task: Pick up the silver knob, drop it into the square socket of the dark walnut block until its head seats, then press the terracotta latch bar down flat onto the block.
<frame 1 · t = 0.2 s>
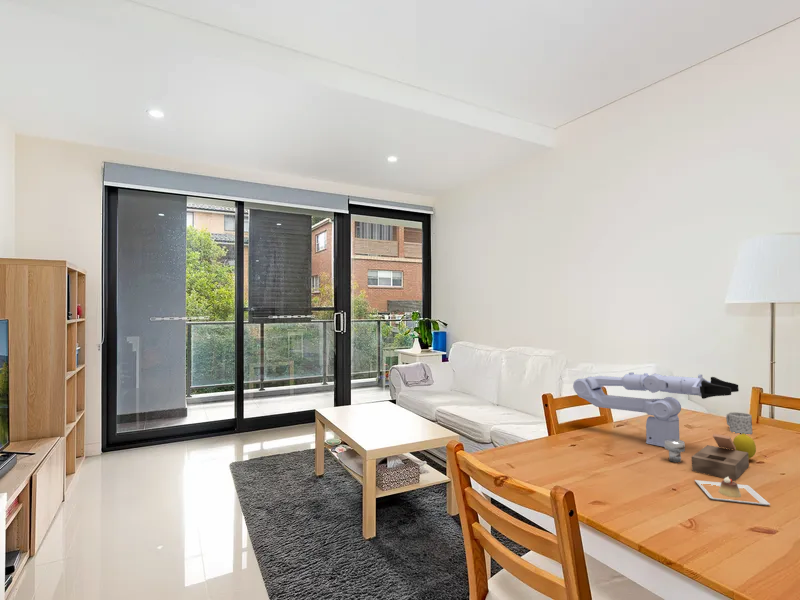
hand: (734, 389, 133), 21 cm above the table, tool horizontal, fingers open, 7 cm apart
lemon: (744, 460, 131), on the table
silver knob: (675, 460, 131), on the table
socket block: (720, 468, 125), on the table
latch bar: (724, 441, 128), point 7 cm above the table, hinge at 35.0°
mug: (737, 431, 163), on the table
dessert: (729, 496, 108), on the table
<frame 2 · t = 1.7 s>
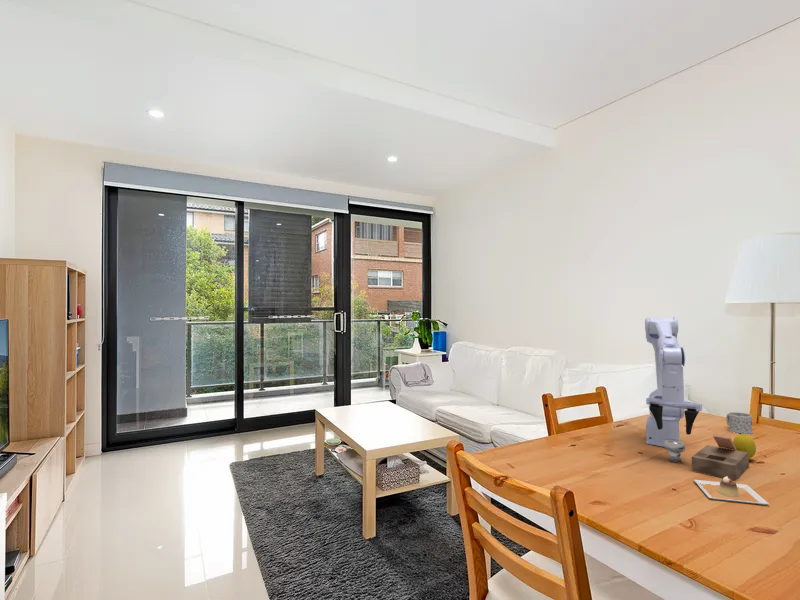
hand: (674, 431, 132), 9 cm above the table, tool pointing down, fingers open, 7 cm apart
nothing on the table moved.
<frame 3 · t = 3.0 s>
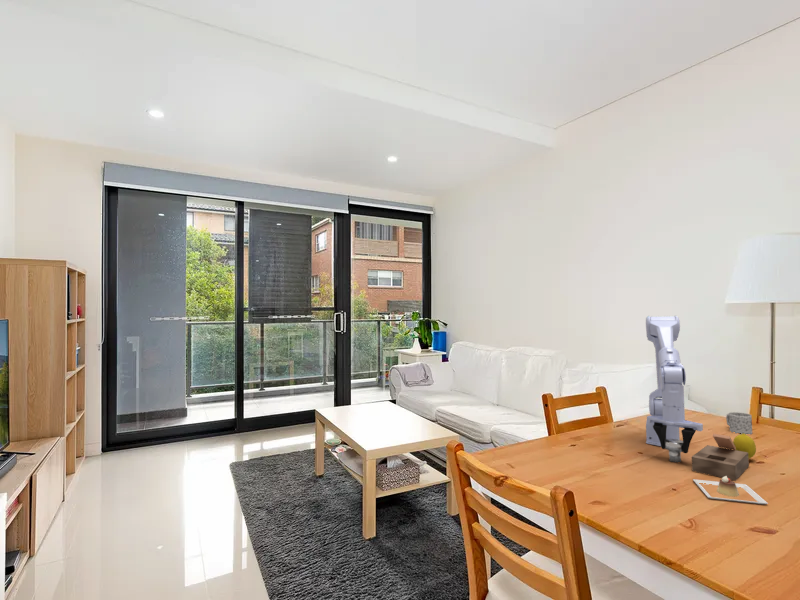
hand: (674, 450, 132), 3 cm above the table, tool pointing down, fingers closed on silver knob, 5 cm apart
silver knob: (675, 460, 131), on the table, touching gripper
everything else where it was.
when the fingers open (6 cm above the table, at t = 6.7 s): silver knob drops 2 cm, resting on socket block.
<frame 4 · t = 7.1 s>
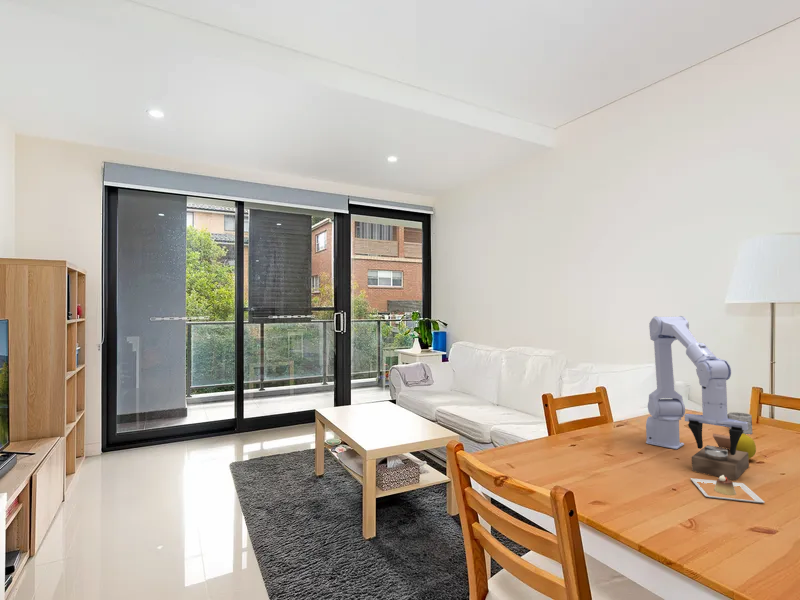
hand: (716, 450, 122), 6 cm above the table, tool pointing down, fingers open, 7 cm apart
silver knob: (716, 470, 122), resting on socket block
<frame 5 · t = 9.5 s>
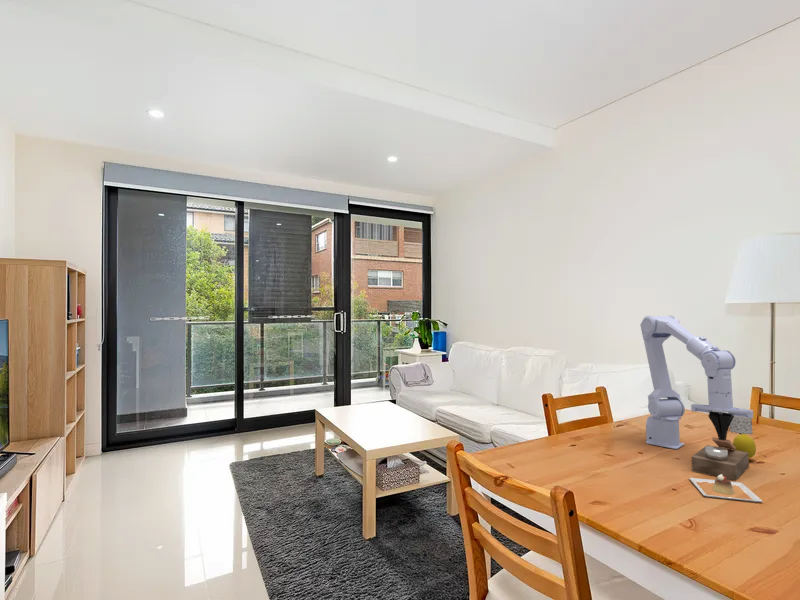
hand: (722, 439, 126), 8 cm above the table, tool pointing down, fingers closed, pressing on latch bar
latch bar: (724, 443, 128), point 6 cm above the table, hinge at 26.5°, touching gripper
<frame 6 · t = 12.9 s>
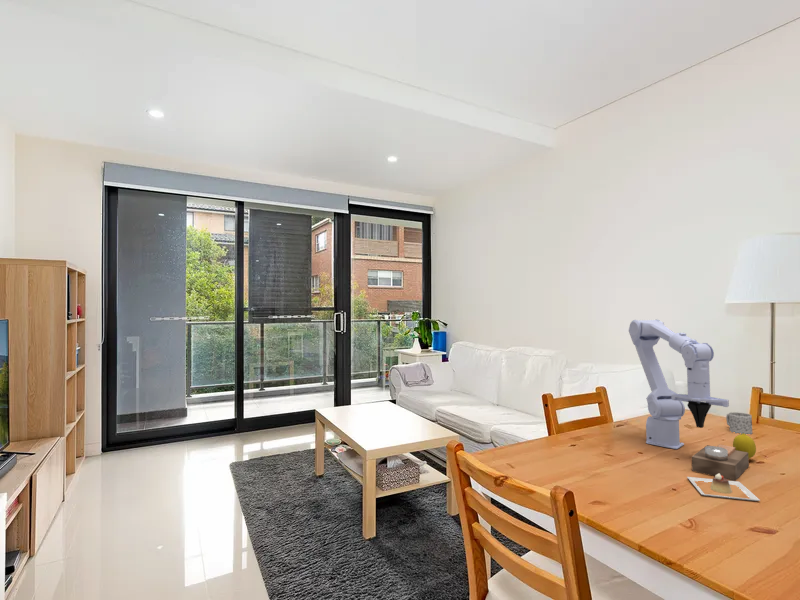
hand: (700, 427, 133), 10 cm above the table, tool pointing down, fingers closed
latch bar: (723, 450, 127), point 4 cm above the table, hinge at -0.4°, touching socket block
at the end: silver knob 0.1 cm from the target spot on the socket block, point 0.5 cm above the socket block's base; silver knob tilted 0°; latch bar at +0° (first picture: +35°) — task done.
